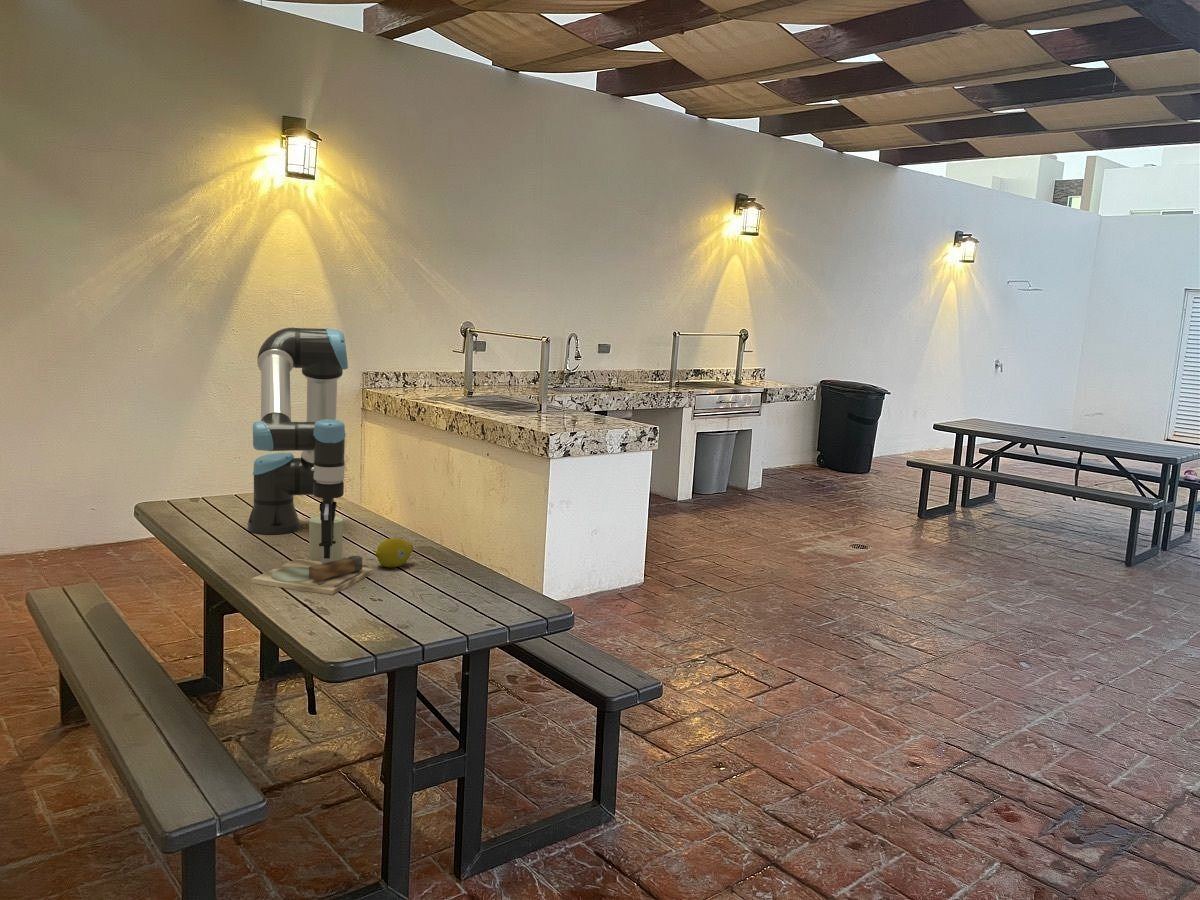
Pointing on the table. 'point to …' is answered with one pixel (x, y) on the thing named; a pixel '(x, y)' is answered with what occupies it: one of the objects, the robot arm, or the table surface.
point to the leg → (335, 568)
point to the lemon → (393, 552)
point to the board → (298, 578)
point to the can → (315, 539)
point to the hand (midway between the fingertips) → (326, 569)
